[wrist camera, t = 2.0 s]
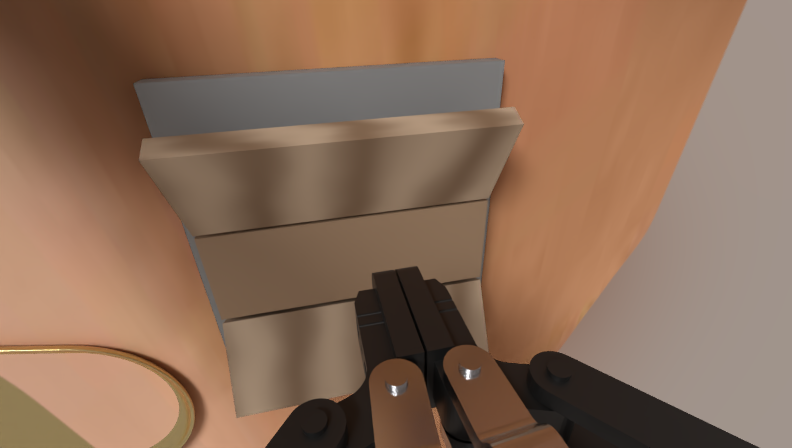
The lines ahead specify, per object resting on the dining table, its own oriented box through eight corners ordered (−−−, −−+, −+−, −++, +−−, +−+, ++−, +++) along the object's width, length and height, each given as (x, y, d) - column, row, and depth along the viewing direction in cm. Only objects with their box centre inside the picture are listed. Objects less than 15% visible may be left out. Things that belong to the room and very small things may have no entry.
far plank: (240, 408, 33) (236, 418, 31) (227, 318, 32) (222, 323, 31) (483, 357, 37) (490, 364, 35) (473, 277, 36) (480, 279, 35)
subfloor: (242, 376, 38) (238, 403, 36) (141, 79, 24) (122, 88, 22) (469, 332, 43) (480, 353, 40) (495, 57, 29) (515, 63, 26)
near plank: (194, 217, 28) (192, 236, 27) (142, 138, 21) (138, 160, 20) (482, 182, 31) (488, 198, 31) (514, 106, 25) (523, 124, 24)
